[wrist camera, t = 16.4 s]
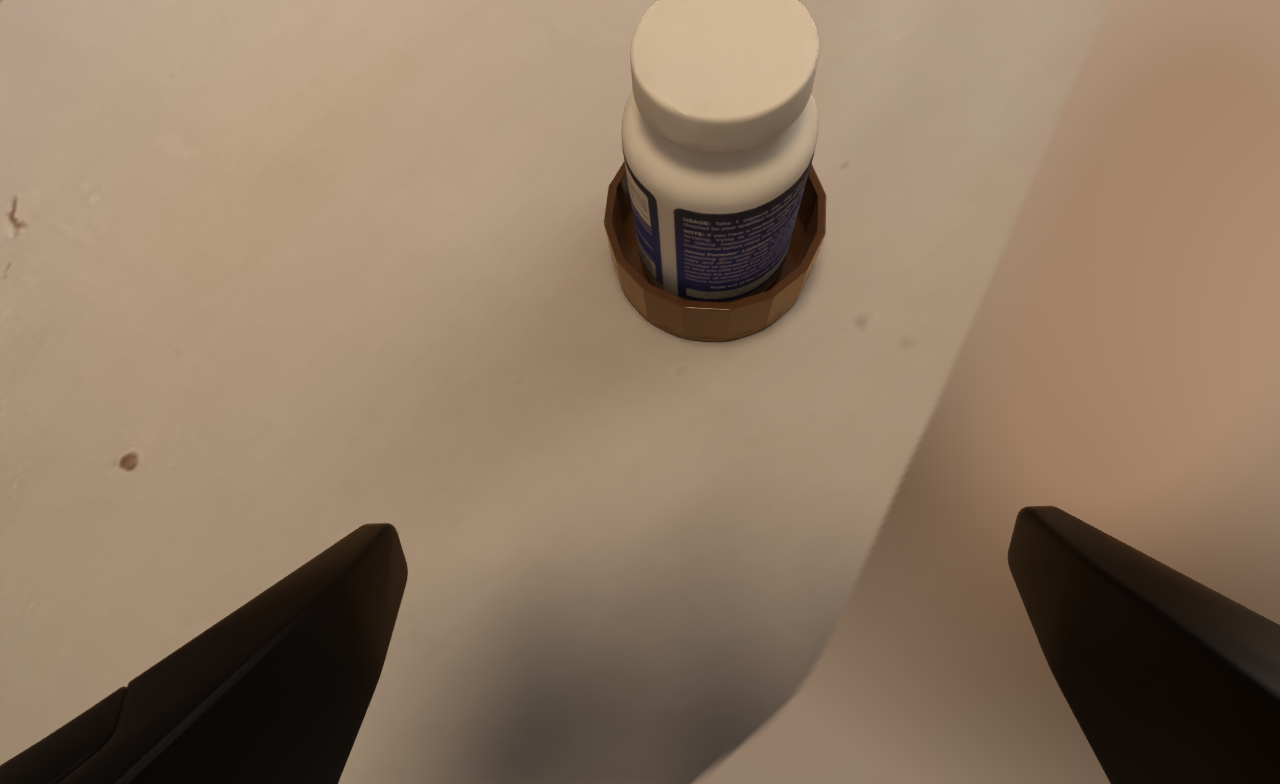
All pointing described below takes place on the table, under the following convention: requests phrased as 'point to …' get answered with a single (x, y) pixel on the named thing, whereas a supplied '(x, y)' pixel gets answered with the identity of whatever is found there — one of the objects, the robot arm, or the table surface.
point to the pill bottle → (719, 141)
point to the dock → (714, 316)
